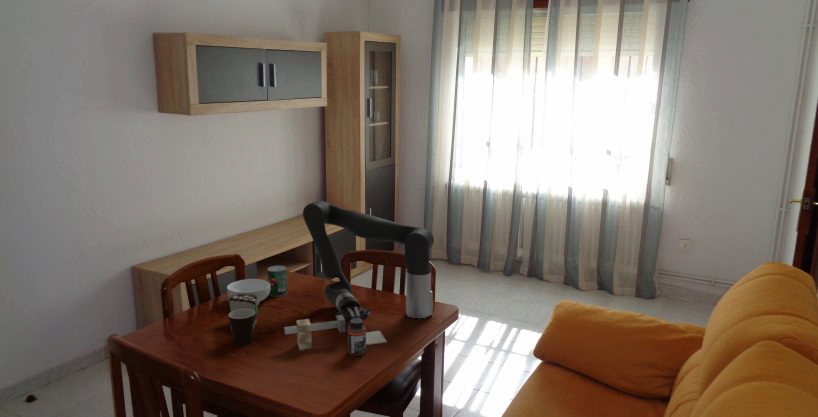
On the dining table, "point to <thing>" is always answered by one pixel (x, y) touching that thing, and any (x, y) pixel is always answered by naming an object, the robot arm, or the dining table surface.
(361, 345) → the supplement bottle
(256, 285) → the cereal bowl
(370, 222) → the robot arm
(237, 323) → the coffee mug
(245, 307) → the food container
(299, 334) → the keeper
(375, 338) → the mat
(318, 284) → the dining table surface
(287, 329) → the t bolt
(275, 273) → the canned tomato
